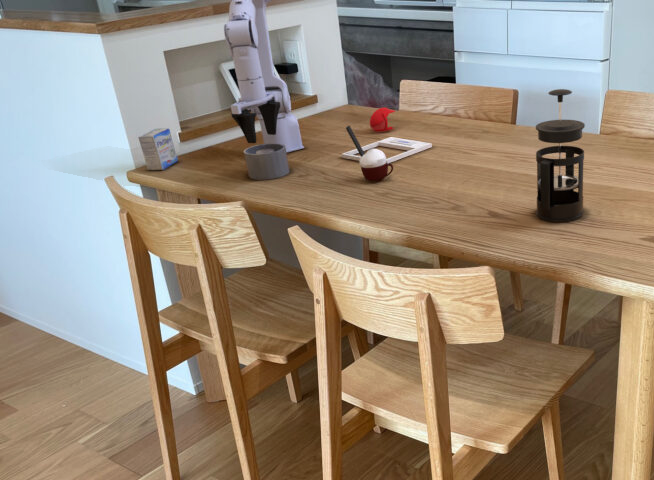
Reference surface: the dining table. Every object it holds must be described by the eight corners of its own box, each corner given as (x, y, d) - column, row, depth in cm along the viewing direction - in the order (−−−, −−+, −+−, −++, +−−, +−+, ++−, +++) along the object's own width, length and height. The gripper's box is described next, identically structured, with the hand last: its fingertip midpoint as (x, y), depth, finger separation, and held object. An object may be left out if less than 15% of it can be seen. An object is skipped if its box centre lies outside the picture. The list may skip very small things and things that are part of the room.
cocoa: (398, 178, 174) (392, 125, 167) (379, 186, 170) (372, 131, 164) (370, 172, 179) (363, 120, 173) (350, 179, 175) (342, 127, 169)
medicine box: (163, 170, 193) (153, 136, 188) (147, 170, 193) (137, 136, 189) (178, 161, 199) (169, 127, 194) (163, 161, 200) (154, 128, 195)
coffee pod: (267, 168, 186) (263, 148, 184) (281, 169, 185) (277, 149, 182) (256, 173, 183) (251, 153, 180) (270, 174, 181) (266, 154, 179)
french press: (550, 202, 153) (550, 82, 141) (593, 208, 149) (596, 85, 137) (523, 221, 145) (520, 96, 133) (567, 228, 141) (568, 99, 129)
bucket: (277, 165, 190) (272, 141, 187) (297, 172, 183) (292, 147, 180) (242, 174, 185) (236, 150, 182) (260, 182, 178) (255, 157, 175)
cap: (382, 135, 209) (379, 112, 206) (366, 132, 212) (363, 110, 209) (401, 128, 214) (398, 106, 211) (385, 126, 217) (382, 104, 214)
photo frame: (431, 142, 194) (382, 160, 183) (431, 147, 195) (382, 165, 183) (391, 136, 202) (341, 153, 191) (391, 140, 203) (342, 157, 192)
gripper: (255, 71, 179) (267, 130, 187) (215, 84, 168) (229, 145, 176) (279, 72, 177) (290, 131, 184) (240, 85, 166) (253, 147, 173)
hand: (262, 138), depth 180 cm, fingers open, 7 cm apart
